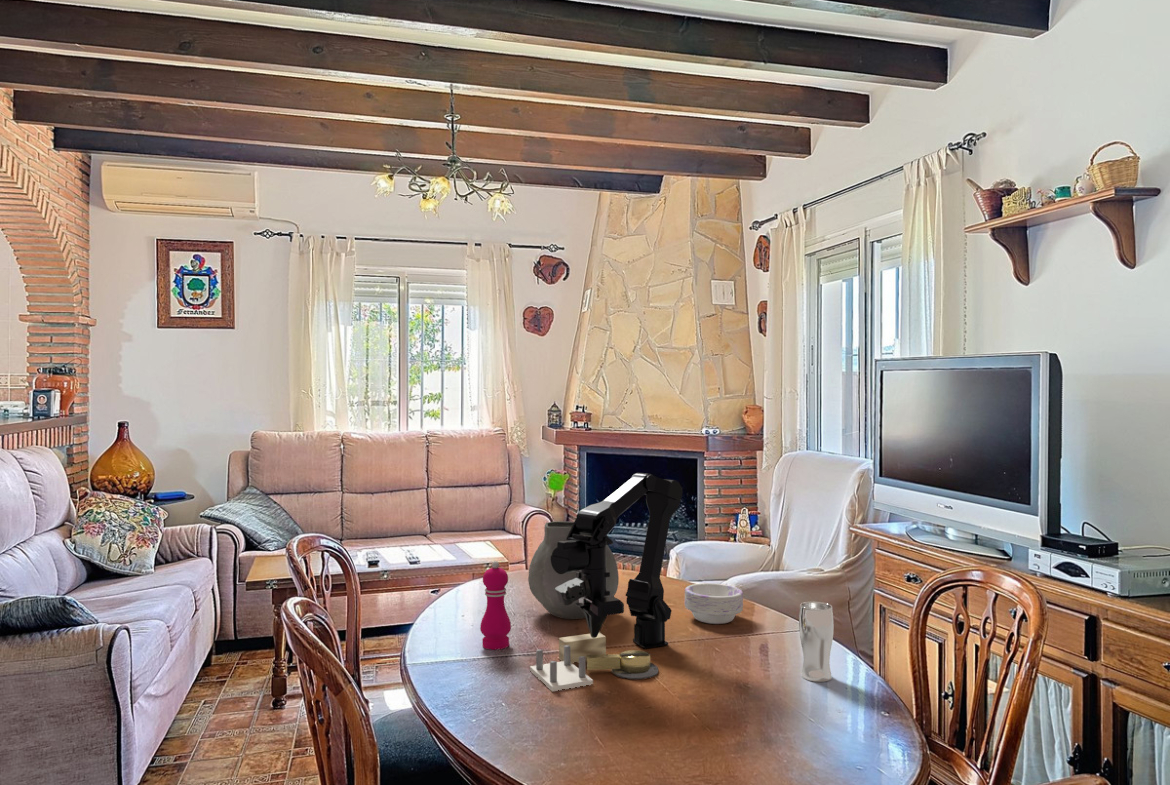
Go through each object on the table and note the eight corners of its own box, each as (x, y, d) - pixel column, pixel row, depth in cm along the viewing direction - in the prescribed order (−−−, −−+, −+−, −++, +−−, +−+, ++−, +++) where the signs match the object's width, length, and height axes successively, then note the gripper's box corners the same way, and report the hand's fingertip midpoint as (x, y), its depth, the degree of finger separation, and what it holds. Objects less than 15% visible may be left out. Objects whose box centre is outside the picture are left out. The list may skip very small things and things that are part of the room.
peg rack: (529, 670, 171) (529, 647, 171) (568, 664, 174) (568, 642, 174) (552, 691, 159) (551, 666, 159) (592, 684, 163) (592, 660, 163)
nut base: (644, 660, 177) (644, 657, 177) (666, 675, 168) (666, 672, 168) (603, 667, 173) (603, 664, 173) (624, 682, 164) (624, 679, 164)
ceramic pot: (635, 611, 217) (635, 519, 217) (588, 634, 197) (587, 533, 197) (561, 598, 230) (561, 512, 230) (510, 619, 210) (509, 524, 210)
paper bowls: (755, 621, 207) (755, 590, 207) (712, 631, 199) (712, 599, 199) (714, 608, 220) (714, 579, 220) (672, 617, 211) (672, 587, 211)
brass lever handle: (647, 661, 174) (647, 648, 174) (652, 671, 167) (652, 658, 167) (585, 663, 173) (585, 650, 173) (588, 673, 166) (588, 660, 166)
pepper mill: (505, 651, 184) (505, 565, 184) (476, 649, 185) (475, 564, 185) (514, 641, 191) (514, 558, 191) (486, 640, 192) (485, 557, 192)
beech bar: (599, 654, 182) (599, 632, 182) (605, 658, 179) (605, 636, 179) (558, 660, 178) (558, 637, 178) (564, 665, 175) (564, 642, 175)
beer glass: (834, 673, 169) (833, 602, 169) (833, 684, 162) (832, 611, 162) (800, 669, 171) (800, 600, 171) (798, 680, 164) (797, 608, 164)
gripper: (544, 561, 181) (544, 630, 181) (576, 579, 164) (577, 655, 164) (588, 557, 185) (589, 624, 185) (624, 574, 168) (625, 647, 168)
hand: (593, 637), depth 176 cm, fingers closed
